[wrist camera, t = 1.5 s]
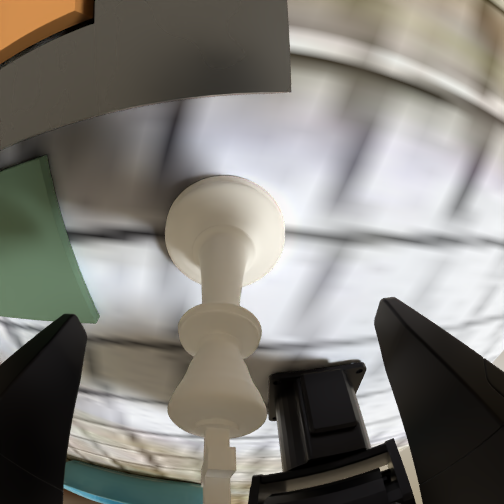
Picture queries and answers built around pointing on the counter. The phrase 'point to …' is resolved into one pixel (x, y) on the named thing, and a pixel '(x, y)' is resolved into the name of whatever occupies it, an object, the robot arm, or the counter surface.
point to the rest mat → (37, 250)
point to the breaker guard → (146, 61)
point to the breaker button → (37, 21)
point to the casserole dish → (127, 486)
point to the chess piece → (221, 314)
